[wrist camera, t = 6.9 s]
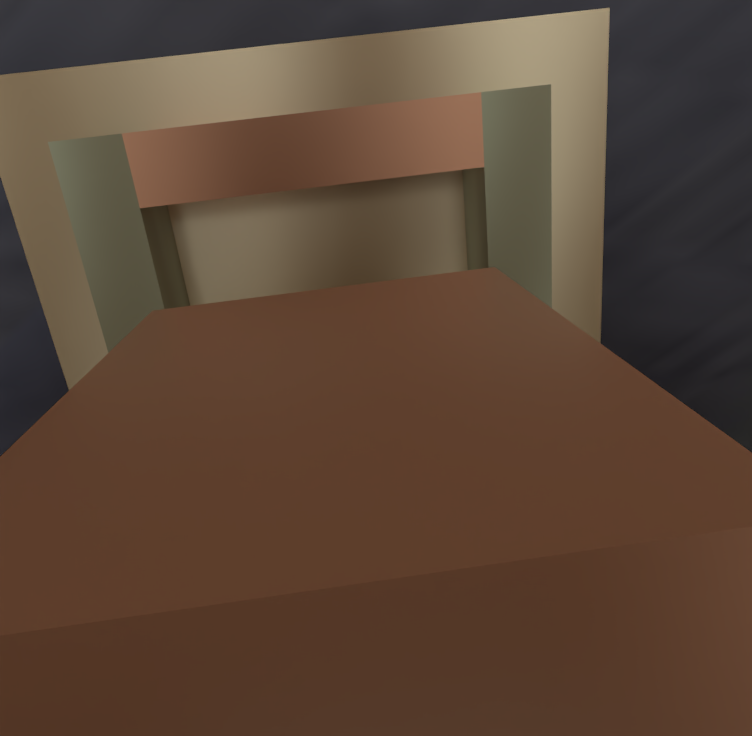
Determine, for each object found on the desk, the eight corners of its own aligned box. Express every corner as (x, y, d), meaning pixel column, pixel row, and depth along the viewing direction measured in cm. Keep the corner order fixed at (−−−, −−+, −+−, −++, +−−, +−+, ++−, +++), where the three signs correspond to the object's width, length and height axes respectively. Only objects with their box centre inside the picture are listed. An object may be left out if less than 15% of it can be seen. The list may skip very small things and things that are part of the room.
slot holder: (596, 14, 12) (659, -17, 10) (583, 631, 18) (621, 701, 15) (-14, 81, 11) (-96, 65, 9) (176, 692, 17) (154, 774, 15)
